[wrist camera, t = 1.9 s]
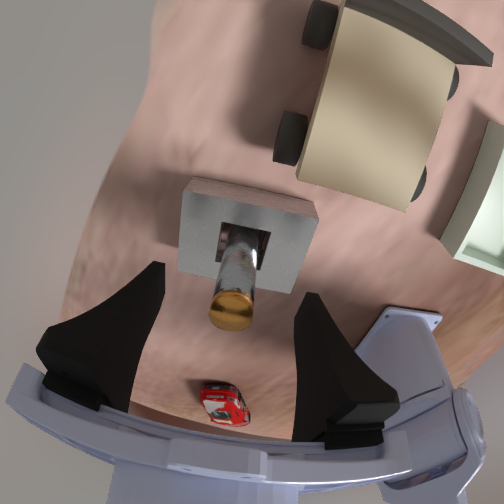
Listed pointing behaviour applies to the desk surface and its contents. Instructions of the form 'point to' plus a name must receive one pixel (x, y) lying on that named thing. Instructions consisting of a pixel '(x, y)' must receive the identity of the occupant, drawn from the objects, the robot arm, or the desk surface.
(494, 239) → the tray
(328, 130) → the ramp trolley
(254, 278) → the pin
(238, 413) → the race car
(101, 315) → the robot arm
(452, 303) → the desk surface
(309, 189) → the desk surface
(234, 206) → the plate
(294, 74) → the desk surface
